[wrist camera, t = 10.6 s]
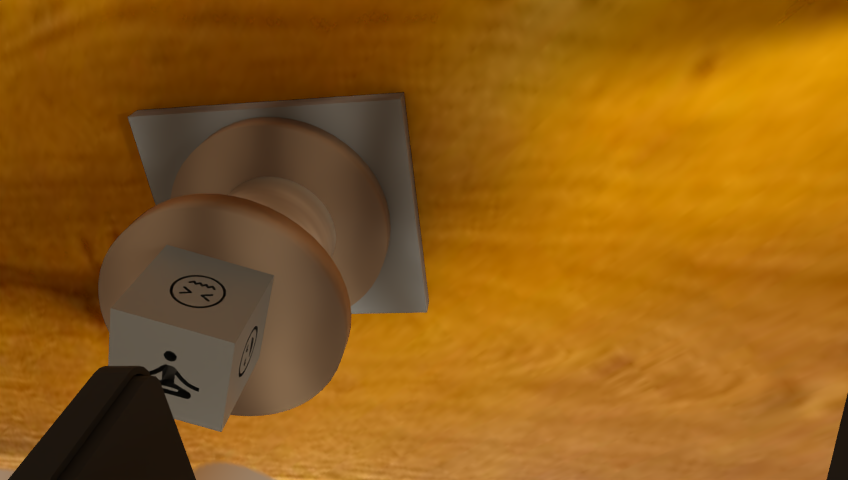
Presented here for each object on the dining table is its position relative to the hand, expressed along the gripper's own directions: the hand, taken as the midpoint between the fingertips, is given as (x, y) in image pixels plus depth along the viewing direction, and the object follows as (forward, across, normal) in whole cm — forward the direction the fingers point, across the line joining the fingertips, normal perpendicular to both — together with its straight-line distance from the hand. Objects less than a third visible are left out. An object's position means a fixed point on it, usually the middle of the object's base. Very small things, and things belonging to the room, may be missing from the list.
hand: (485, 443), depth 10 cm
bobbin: (+30, +14, +11) cm, 35 cm away
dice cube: (+19, +14, +10) cm, 25 cm away
